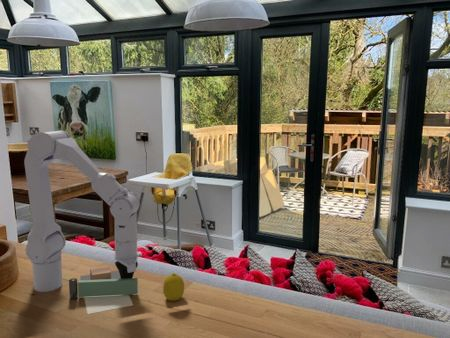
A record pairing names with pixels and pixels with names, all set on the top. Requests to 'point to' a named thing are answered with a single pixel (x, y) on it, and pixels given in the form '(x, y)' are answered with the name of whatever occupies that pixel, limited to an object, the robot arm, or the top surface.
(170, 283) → the lemon
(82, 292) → the bar
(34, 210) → the robot arm
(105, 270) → the block
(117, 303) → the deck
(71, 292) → the gate post
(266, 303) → the top surface
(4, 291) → the top surface
